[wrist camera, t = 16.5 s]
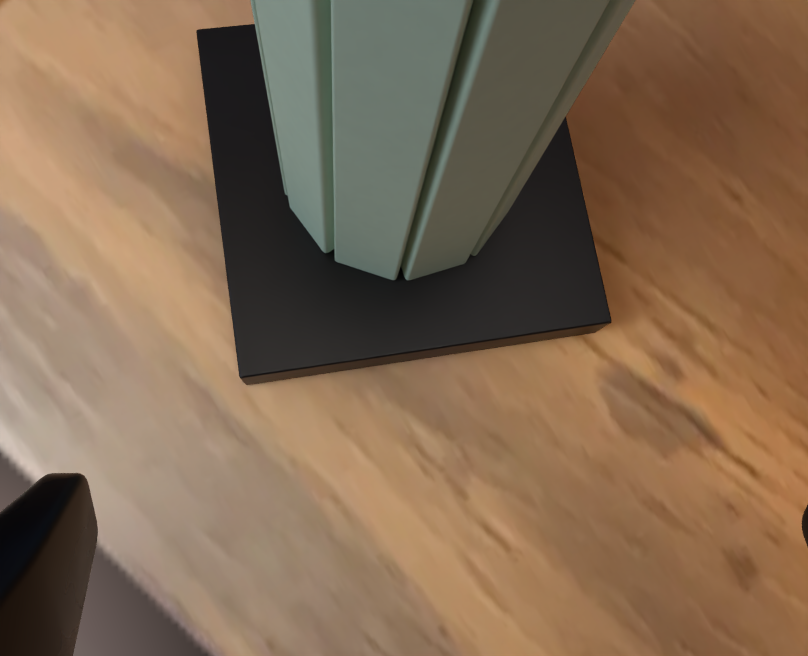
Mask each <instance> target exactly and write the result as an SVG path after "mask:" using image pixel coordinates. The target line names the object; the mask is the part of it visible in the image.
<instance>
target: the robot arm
mask: <svg viewBox="0 0 808 656" xmlns="http://www.w3.org/2000/svg"><path fill="white" fill-rule="evenodd" d="M802 530H803V535H804V538H805V541H806V544H807V546H808V505H807V507H806V509H805V511H804V514H803V518H802ZM97 535H98V528H97V520H96V516H95V511H94V507H93V502H92V498H91V493H90V489H89V485H88V481H87V479H86V478H85V476H84V475H82V474H79V473H52V474H48V475H45V476H44V477H42V478H41V479H40V480H38V481H37V482H36V483H35V484H34V485H32V486H31V487H30V488H29V489H28V490H27V491H25V492H24V493H23V494H22V495H20V496H19V497H18V498H17V499H16V500H15V501H13V502H12V503H11V504H10V505H8V506H7V507H6V508H5V509H4V510H3V511H1V512H0V656H73V652H74V648H75V643H76V639H77V634H78V629H79V624H80V619H81V615H82V610H83V605H84V601H85V596H86V591H87V586H88V582H89V577H90V572H91V567H92V562H93V558H94V553H95V549H96V543H97Z"/></svg>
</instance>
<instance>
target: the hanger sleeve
mask: <svg viewBox="0 0 808 656" xmlns="http://www.w3.org/2000/svg"><path fill="white" fill-rule="evenodd" d="M634 2H635V0H251V5H252V11H253V17H254V22H255V28H256V33H257V39H258V45H259V50H260V56H261V62H262V67H263V73H264V79H265V84H266V90H267V95H268V101H269V107H270V112H271V118H272V124H273V129H274V135H275V141H276V146H277V152H278V157H279V163H280V169H281V174H282V180H283V186H284V191H285V195H288V200H289V205H290V208H291V209H292V211H293V212H294V213H295V215H296V216H297V217H298V219H299V220H300V221H301V223H302V224H303V225H304V227H305V228H306V229H307V231H308V232H309V233H310V235H311V236H312V238H313V239H314V240H315V242H316V243H317V244H318V246H319V247H320V248H321V250H322V251H323V252H324V253H328V252H330V251H332V250H333V249H334V248H335V261H336V262H338V263H342V264H345V265H348V266H351V267H354V268H357V269H360V270H363V271H366V272H369V273H372V274H375V275H378V276H381V277H384V278H387V279H391V280H396V279H397V276H398V273H399V270H400V267H401V268H402V271H403V274H404V277H405V279H406V280H412V279H416V278H419V277H422V276H425V275H429V274H432V273H435V272H439V271H442V270H445V269H449V268H452V267H455V266H459V265H462V264H464V263H466V261H467V259H468V257H469V256H470V254H471V255H472V256H476V255H477V254H478V252H479V251H480V250H481V248H482V247H483V246H484V244H485V243H486V241H487V240H488V239H489V237H490V236H491V235H492V233H493V232H494V230H495V229H496V228H497V226H498V225H499V224H500V222H501V221H502V220H503V218H504V217H505V215H506V214H507V213H508V211H509V210H510V208H511V206H512V205H513V203H514V201H515V200H516V198H517V196H518V195H519V193H520V191H521V190H522V188H523V186H524V185H525V183H526V181H527V180H528V178H529V176H530V175H531V173H532V171H533V170H534V168H535V166H536V165H537V163H538V161H539V160H540V158H541V156H542V155H543V153H544V151H545V150H546V148H547V146H548V145H549V143H550V141H551V140H552V138H553V136H554V135H555V133H556V131H557V130H558V128H559V126H560V125H561V123H562V122H563V120H564V118H565V117H566V115H567V113H568V112H569V110H570V108H571V107H572V105H573V103H574V102H575V100H576V98H577V97H578V95H579V93H580V92H581V90H582V88H583V87H584V85H585V83H586V82H587V80H588V78H589V77H590V75H591V73H592V72H593V70H594V68H595V67H596V65H597V63H598V62H599V60H600V58H601V57H602V55H603V53H604V52H605V50H606V48H607V47H608V45H609V43H610V42H611V40H612V38H613V37H614V35H615V33H616V32H617V30H618V28H619V27H620V25H621V23H622V22H623V20H624V18H625V17H626V15H627V13H628V12H629V10H630V9H631V7H632V5H633V4H634Z"/></svg>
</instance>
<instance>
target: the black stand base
mask: <svg viewBox="0 0 808 656" xmlns="http://www.w3.org/2000/svg"><path fill="white" fill-rule="evenodd" d="M197 40H198V48H199V56H200V65H201V73H202V81H203V89H204V97H205V105H206V113H207V121H208V129H209V137H210V145H211V153H212V161H213V169H214V177H215V185H216V193H217V201H218V209H219V217H220V225H221V233H222V241H223V249H224V257H225V265H226V273H227V281H228V289H229V297H230V305H231V313H232V321H233V329H234V337H235V345H236V353H237V361H238V369H239V377H240V378H241V379H242V381H243V382H244V383H245V384H246V385H251V384H257V383H264V382H271V381H277V380H284V379H290V378H297V377H304V376H310V375H317V374H324V373H330V372H337V371H343V370H350V369H357V368H363V367H370V366H377V365H383V364H390V363H396V362H403V361H410V360H416V359H423V358H429V357H436V356H443V355H449V354H456V353H463V352H469V351H476V350H482V349H489V348H496V347H502V346H509V345H516V344H522V343H529V342H535V341H542V340H549V339H555V338H562V337H569V336H575V335H582V334H588V333H595V332H597V331H598V330H600V329H602V328H603V327H605V326H606V325H608V324H609V323H611V317H610V312H609V308H608V303H607V299H606V294H605V290H604V285H603V281H602V277H601V272H600V268H599V263H598V259H597V254H596V250H595V245H594V241H593V236H592V232H591V227H590V223H589V219H588V214H587V210H586V205H585V201H584V196H583V192H582V187H581V183H580V178H579V174H578V170H577V165H576V161H575V156H574V152H573V147H572V143H571V138H570V134H569V129H568V125H567V121H566V117H565V118H564V120H563V122H562V123H561V125H560V126H559V128H558V130H557V131H556V133H555V135H554V136H553V138H552V140H551V141H550V143H549V145H548V146H547V148H546V150H545V151H544V153H543V155H542V156H541V158H540V160H539V161H538V163H537V165H536V166H535V168H534V170H533V171H532V173H531V175H530V176H529V178H528V180H527V181H526V183H525V185H524V186H523V188H522V190H521V191H520V193H519V195H518V196H517V198H516V200H515V201H514V203H513V205H512V206H511V208H510V210H509V211H508V213H507V214H506V215H505V217H504V218H503V220H502V221H501V222H500V224H499V225H498V226H497V228H496V229H495V230H494V232H493V233H492V235H491V236H490V237H489V239H488V240H487V241H486V243H485V244H484V246H483V247H482V248H481V250H480V251H479V252H478V254H477V255H476V256H472V255H471V254H470V256H469V257H468V259H467V261H466V263H464V264H462V265H459V266H455V267H452V268H449V269H445V270H442V271H439V272H435V273H432V274H429V275H425V276H422V277H419V278H416V279H412V280H406V279H405V277H404V274H403V271H402V268H401V267H400V270H399V273H398V276H397V279H396V280H391V279H387V278H384V277H381V276H378V275H375V274H372V273H369V272H366V271H363V270H360V269H357V268H354V267H351V266H348V265H345V264H342V263H338V262H336V261H335V248H334V249H333V250H332V251H330V252H328V253H324V252H323V251H322V250H321V248H320V247H319V246H318V244H317V243H316V242H315V240H314V239H313V238H312V236H311V235H310V233H309V232H308V231H307V229H306V228H305V227H304V225H303V224H302V223H301V221H300V220H299V219H298V217H297V216H296V215H295V213H294V212H293V211H292V209H291V208H290V205H289V200H288V195H285V191H284V186H283V180H282V174H281V169H280V163H279V157H278V152H277V146H276V141H275V135H274V129H273V124H272V118H271V112H270V107H269V101H268V95H267V90H266V84H265V79H264V73H263V67H262V62H261V56H260V50H259V45H258V39H257V33H256V28H255V24H251V25H240V26H230V27H220V28H210V29H199V30H197Z"/></svg>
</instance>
